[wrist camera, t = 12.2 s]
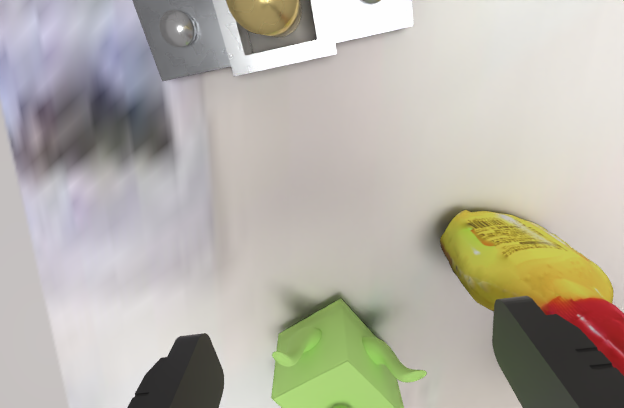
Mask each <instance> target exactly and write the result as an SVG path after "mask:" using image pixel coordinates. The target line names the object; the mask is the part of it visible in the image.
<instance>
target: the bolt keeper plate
mask: <svg viewBox="0 0 624 408" xmlns="http://www.w3.org/2000/svg"><path fill="white" fill-rule="evenodd" d="M133 3H134V6H135V9H136V11H137V14H138V17H139V19H140V22H141V25H142V27H143V30H144V33H145V36H146V38H147V41H148V44H149V46H150V49H151V52H152V54H153V57H154V60H155V63H156V65H157V68H158V71H159V73H160V76H161V79H162V81H166V80H171V79H175V78H180V77H184V76H189V75H193V74H198V73H202V72H207V71H212V70H216V69H221V68H225V67H230V66H231V68H232V72H233V75H234V76H238V75H243V74H247V73H252V72H256V71H261V70H266V69H270V68H275V67H279V66H284V65H289V64H293V63H298V62H302V61H307V60H312V59H316V58H321V57H325V56H330V55H335V54H337V51H336V45H335V43H338V42H343V41H348V40H352V39H357V38H361V37H366V36H370V35H375V34H379V33H384V32H388V31H393V30H397V29H402V28H406V27H411V26H413V10H412V0H310V4H311V10H312V16H313V21H314V27H315V33H316V39H317V40H313V41H309V42H305V43H300V44H296V45H291V46H287V47H282V48H278V49H273V50H269V51H264V52H260V53H255V54H253V51H252V47H251V43H250V39H249V35H248V31H247V30H246V29H245V28H243V27H242V26H241V25H240V24H239V23H238V22H237V21H236V20H235V19H234V17H233V16H232V14H231V13H230V10H229V8H228V5H227V2H226V0H133Z"/></svg>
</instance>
